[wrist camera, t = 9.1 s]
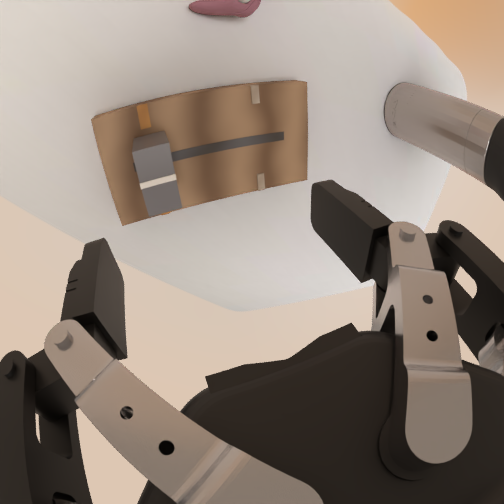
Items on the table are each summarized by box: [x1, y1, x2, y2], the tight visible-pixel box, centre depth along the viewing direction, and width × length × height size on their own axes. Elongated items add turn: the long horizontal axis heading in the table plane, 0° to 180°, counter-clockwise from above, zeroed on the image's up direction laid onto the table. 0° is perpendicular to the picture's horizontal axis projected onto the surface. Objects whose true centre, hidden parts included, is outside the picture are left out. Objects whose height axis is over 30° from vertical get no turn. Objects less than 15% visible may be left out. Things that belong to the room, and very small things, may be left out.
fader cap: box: [132, 131, 182, 217], centre depth 24 cm, size 3×6×5 cm, turn 4°
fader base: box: [91, 80, 308, 226], centre depth 28 cm, size 22×12×3 cm, turn 94°
